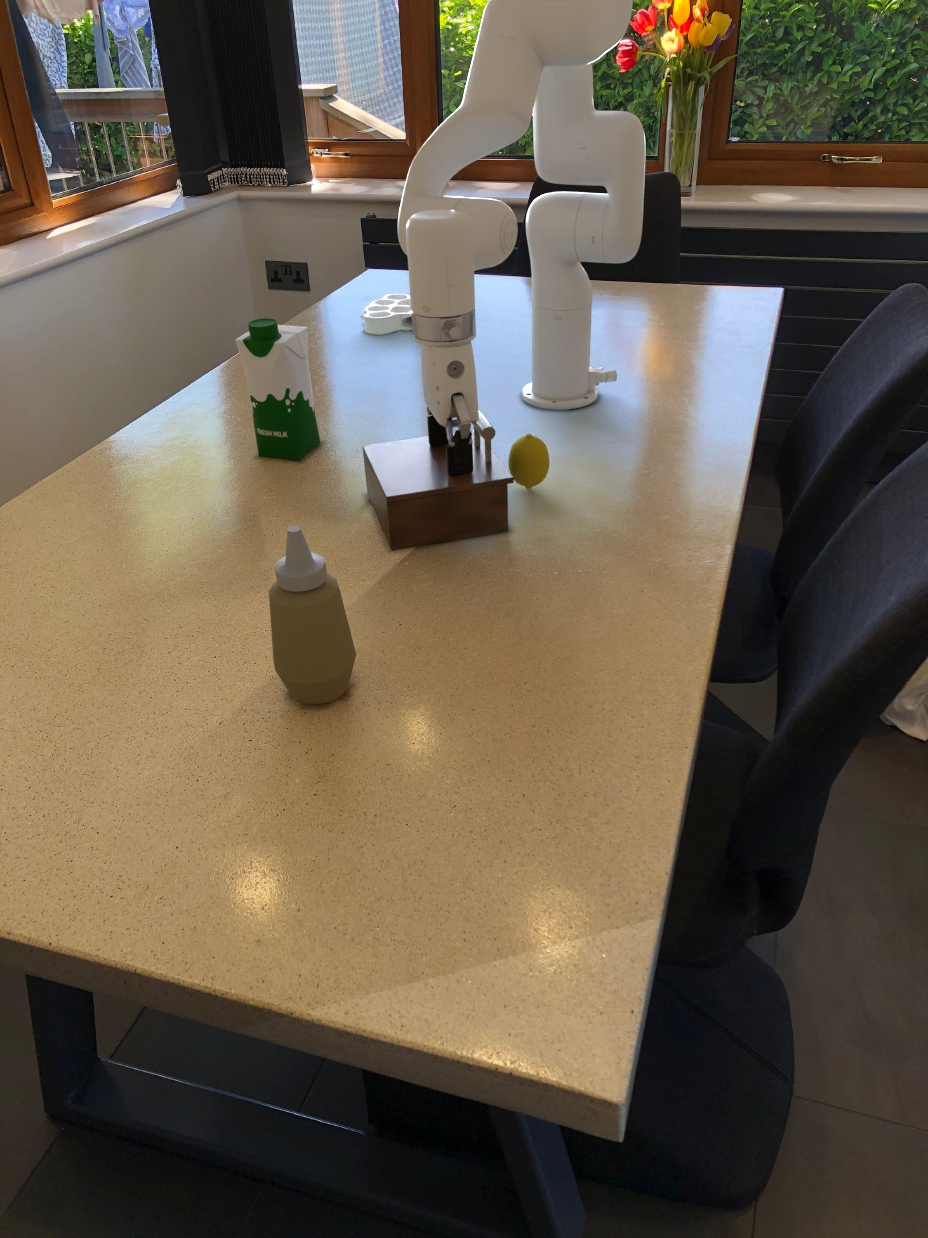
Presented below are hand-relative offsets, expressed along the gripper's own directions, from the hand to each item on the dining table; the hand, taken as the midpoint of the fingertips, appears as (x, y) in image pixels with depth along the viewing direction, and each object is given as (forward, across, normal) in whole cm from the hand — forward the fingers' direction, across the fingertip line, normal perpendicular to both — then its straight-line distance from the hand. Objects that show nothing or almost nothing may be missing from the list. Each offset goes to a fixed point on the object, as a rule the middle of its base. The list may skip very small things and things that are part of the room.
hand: (450, 458), depth 119 cm
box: (+7, 0, +2) cm, 8 cm away
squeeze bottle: (+8, -32, +22) cm, 40 cm away
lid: (+1, 0, +2) cm, 2 cm away
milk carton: (+8, +28, +18) cm, 34 cm away
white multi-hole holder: (+7, +87, -11) cm, 88 cm away
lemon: (+8, +3, -12) cm, 14 cm away
